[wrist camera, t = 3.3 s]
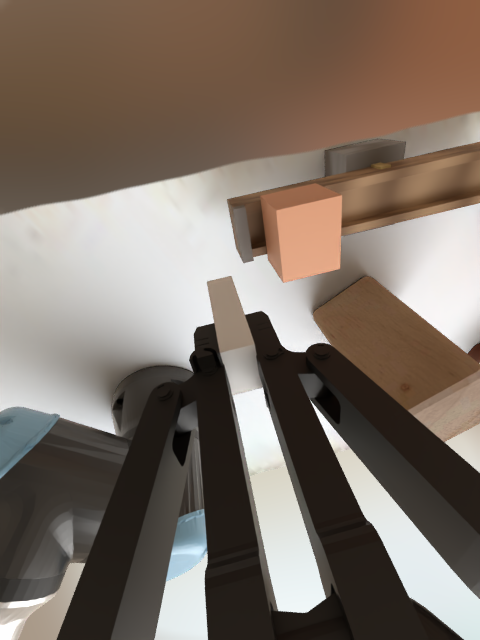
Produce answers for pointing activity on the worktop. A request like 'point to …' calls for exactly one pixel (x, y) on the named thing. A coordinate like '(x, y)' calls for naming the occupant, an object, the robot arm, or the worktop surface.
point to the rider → (303, 231)
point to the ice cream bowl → (475, 353)
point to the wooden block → (404, 356)
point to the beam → (374, 189)
